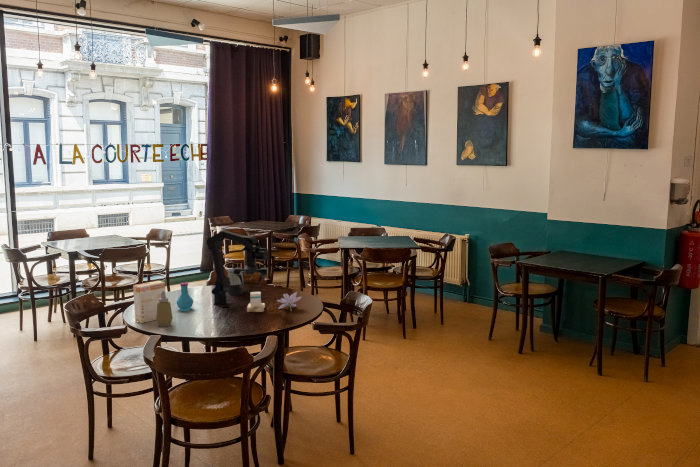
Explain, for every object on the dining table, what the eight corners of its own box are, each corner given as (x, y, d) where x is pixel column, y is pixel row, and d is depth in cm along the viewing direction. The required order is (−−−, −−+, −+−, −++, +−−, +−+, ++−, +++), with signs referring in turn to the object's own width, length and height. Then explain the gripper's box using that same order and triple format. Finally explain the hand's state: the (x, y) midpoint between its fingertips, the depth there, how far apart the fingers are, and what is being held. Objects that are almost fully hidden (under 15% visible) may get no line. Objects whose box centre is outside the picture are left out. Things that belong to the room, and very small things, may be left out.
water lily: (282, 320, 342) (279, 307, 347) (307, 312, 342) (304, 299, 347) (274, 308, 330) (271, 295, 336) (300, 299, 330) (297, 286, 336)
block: (247, 312, 336) (246, 307, 335) (249, 308, 344) (248, 303, 344) (263, 312, 336) (263, 307, 335) (264, 308, 345) (264, 303, 344)
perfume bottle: (197, 308, 344) (196, 282, 342) (186, 312, 336) (185, 285, 333) (184, 306, 348) (183, 280, 345) (173, 310, 339) (172, 284, 337)
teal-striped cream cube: (250, 306, 337) (250, 294, 336) (250, 304, 342) (250, 292, 341) (260, 306, 337) (260, 294, 336) (261, 303, 343) (260, 291, 342)
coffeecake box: (161, 315, 330) (159, 280, 327) (167, 317, 325) (165, 282, 322) (134, 320, 319) (132, 284, 316) (140, 323, 314) (138, 286, 311)
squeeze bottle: (158, 323, 314) (156, 289, 312) (174, 323, 315) (172, 289, 312) (154, 328, 306) (153, 293, 304) (171, 327, 307) (169, 292, 304)
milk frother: (241, 295, 373) (240, 271, 371) (215, 295, 374) (215, 271, 371) (245, 289, 387) (245, 266, 385) (221, 289, 388) (220, 266, 386)
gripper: (231, 261, 332) (232, 289, 335) (266, 261, 333) (266, 289, 335) (234, 257, 343) (235, 284, 346) (268, 257, 344) (268, 284, 346)
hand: (251, 285), depth 343 cm, fingers open, 9 cm apart
